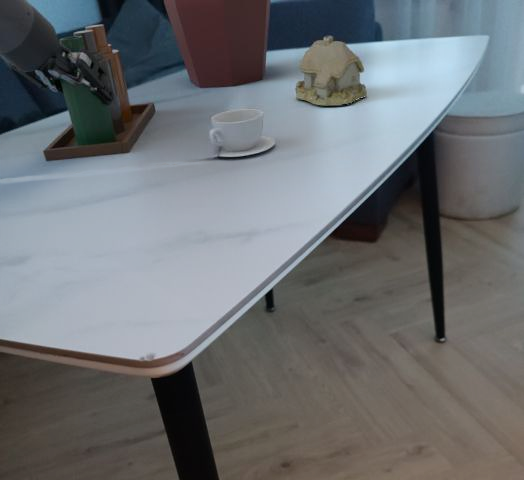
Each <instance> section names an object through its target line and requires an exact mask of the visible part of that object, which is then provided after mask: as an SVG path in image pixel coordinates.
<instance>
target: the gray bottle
mask: <svg viewBox="0 0 524 480" xmlns="http://www.w3.org/2000/svg"><path fill="white" fill-rule="evenodd" d="M74 36H82V37H83V41H84V45H85V48H86V49H88V50H89V51H90V52H91V54H92V55H93V56H94V57H95V58H96V59H97V61H98V62H99V63H100V64H101V65H102V66H103V68H104V69H105V70H106V71H107V72H108V74H107V77H106V81H105V83H106V84H107V85H108V86H109V87H110V88H111V89H112V90H113V91H114V98H113V101H112V104H111V105H109V108H110V113H111V117H112V121H113V126H114V130H115V134H119V133H121V132H123V131H125V129H126V128H125V124H124V120H123V115H122V111H121V106H120V102H119V97H118V93H117V88H116V84H115V79H114V75H113V71H112V66H111V62H110V58H109V57H106V56H103V55H102V52H101V51H98V48H97V44H96V39H95V35H94V31H93V30H86V29H85V30H79V31H75V32H73V37H74Z"/></svg>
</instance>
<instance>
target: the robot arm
mask: <svg viewBox="0 0 524 480" xmlns="http://www.w3.org/2000/svg"><path fill="white" fill-rule="evenodd" d="M0 56H1V57H2V58H3V59H4V60H6V62H8V63H9V64H10V68H11V69H12V70H14V71H15V72H17V73H18V74H20V75H21V76H22V77H24V78H25V79H27V81H29V82H31V83H32V84H34V85H35V86H37V88H39V89H41V90H47V88H49V90H50V91H52V92H54V93H59V94H60V95H61V96H62V97H64V98H65V96H64V93H63V89H62V85H61V82H60V79H61V78H62V79H64V80H66V81H68V82H69V83H71V84H73V85H75V86H79V85H81V86H83V87H85V88H87V89H89V90H90V91H92V93H93V94H95V95H96V96H97V97H98V98H99V99H100V100H101V101H102V102H104V103H105V104H106V105H111V104H112V101H113V98H114V91H113V90H112V89H111V88H110V87H109V86H108V85H107V84H106V83H105V81H106V77H107V74H108V72H107V71H106V70H105V69H104V68H103V66H102V65H101V64H100V63H99V62H98V61H97V59H96V58H95V57H94V56H93V55H92V54H91V52H90V51H89V50H88V49H86V48H84V47H81V48H80V51H79V53H76V52H71V50H70V49H68V48H67V47H65V46H63V45H62V44H60V40H59V39H58V35H57V32H56V29H55V26H54V25H53V24H52V22H50V21H49V20H48V19H47V18H46V17H45V16H44V15H43V14H42V13H41V12H40V11H39V10H38V9H36V7H35V6H33V5H32V4H31V3H30V2H29V1H28V0H0ZM75 65H76V66H77V67H78V69H77V70H78V71H77V75H76V78H75V77H73V76H72V75H73V73H74V69H75ZM97 72H98V73H97ZM84 75H85V76H86V77H87V78H88V79H89V80H90V83H89V82H88V81H86V80H84ZM38 77H39V78H38Z"/></svg>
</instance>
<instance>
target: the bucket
mask: <svg viewBox="0 0 524 480" xmlns="http://www.w3.org/2000/svg"><path fill="white" fill-rule="evenodd" d="M163 4H164V7H165V10H166V13H167V16H168V19H169V22H170V24H171V28H172V31H173V34H174V37H175V40H176V43H177V45H178V49H179V51H180V55H181V57H182V61H183V63H184V66H185V69H186V72H187V76H188V78H189V81H190V83H191V84H192V85H194V86H196V87H197V88H199V89H203V88H227V87H236V86H240V85H244V84H248V82H249V83H252V81H253V82H257V81H260V80H259V79H262V78H263V79H264V76H265V74H266V67H267V66H266V64H267V52H268V39H269V27H270V26H269V25H270V13H271V11H270V10H271V0H163ZM264 73H265V74H264ZM263 79H262V80H263ZM256 80H257V81H256Z"/></svg>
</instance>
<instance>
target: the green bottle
mask: <svg viewBox="0 0 524 480" xmlns="http://www.w3.org/2000/svg"><path fill="white" fill-rule="evenodd" d="M59 43H60V44H62V45H63V46H65V47H67V48H68V49H70V50H71V52H76V53H79V51H80V48H81V47H84V48H85V45H84V41H83V37H82V36H74V35H73V36H68V37H63V38H60V39H59ZM77 69H78V67H77V66H76V65H75V69H74V73H73V75H72V76H73V77H75V78H76V75H77V71H78V70H77ZM97 73H98V72H97ZM84 80H86V81H88V82H89V83H90V80H89V79H88V78H87V77H86V76H85V75H84ZM60 82H61V85H62V89H63V93H64V96H65V97H64V96H63V97H64V100H65V104H66V107H67V111H68V115H69V119H70V121H71V124H72V126H73V129H74V133H75V137H76V140H77V143H78V146H83V145H93V144H103V143H113V142H116V141H117V140H116V134H115V130H114V126H113V121H112V117H111V113H110V108H109V105H106V104H105V103H104V102H102V101H101V100H100V99H99V98H98V97H97V96H96V95H95V94H93V93H92V91H90V90H89V89H87V88H85V87H83V86H81V85H79V86H75V85H73V84H71V83H69V82H68V81H66V80H64V79H62V78H61V79H60Z"/></svg>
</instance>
